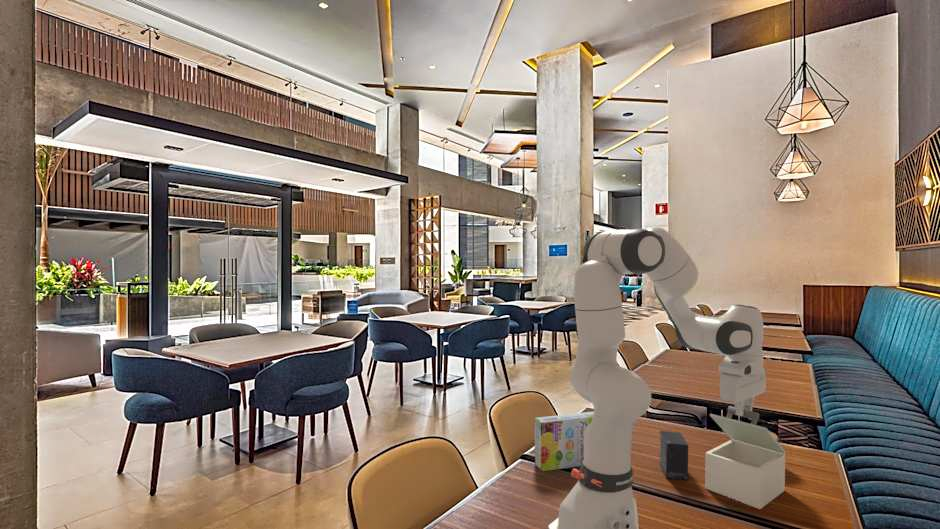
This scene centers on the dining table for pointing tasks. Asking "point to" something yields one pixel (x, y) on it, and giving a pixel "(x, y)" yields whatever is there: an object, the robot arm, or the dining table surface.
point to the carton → (745, 473)
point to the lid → (747, 430)
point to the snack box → (560, 440)
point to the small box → (673, 455)
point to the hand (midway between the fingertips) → (744, 413)
